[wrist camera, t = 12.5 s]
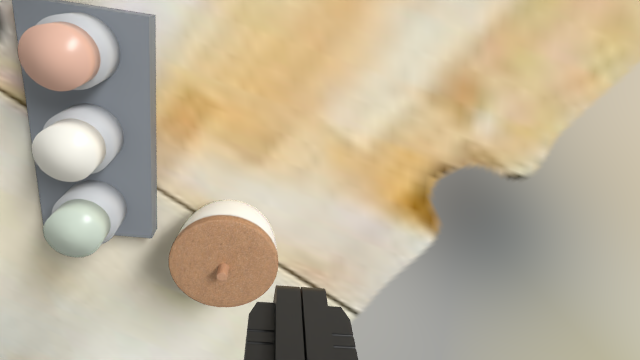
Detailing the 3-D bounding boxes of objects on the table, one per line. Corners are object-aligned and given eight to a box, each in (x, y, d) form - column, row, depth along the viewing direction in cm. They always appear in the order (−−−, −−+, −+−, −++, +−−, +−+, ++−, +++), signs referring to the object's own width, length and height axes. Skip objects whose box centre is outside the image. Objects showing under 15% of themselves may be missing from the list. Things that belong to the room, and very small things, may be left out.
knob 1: (30, 16, 32) (13, 19, 30) (98, 26, 33) (85, 29, 31) (38, 80, 35) (22, 86, 32) (102, 88, 35) (90, 95, 33)
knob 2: (53, 196, 39) (40, 208, 37) (109, 201, 40) (99, 214, 38) (58, 240, 41) (46, 255, 39) (112, 244, 42) (102, 259, 40)
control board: (24, -6, 36) (-12, -4, 32) (155, 15, 38) (138, 19, 33) (53, 219, 46) (28, 245, 41) (156, 228, 47) (143, 254, 43)
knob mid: (43, 114, 36) (28, 123, 34) (104, 122, 36) (93, 130, 34) (49, 167, 38) (35, 178, 36) (107, 173, 39) (97, 184, 36)
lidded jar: (284, 190, 47) (285, 236, 38) (272, 267, 51) (270, 323, 43) (187, 178, 45) (165, 223, 37) (182, 258, 49) (162, 315, 41)
